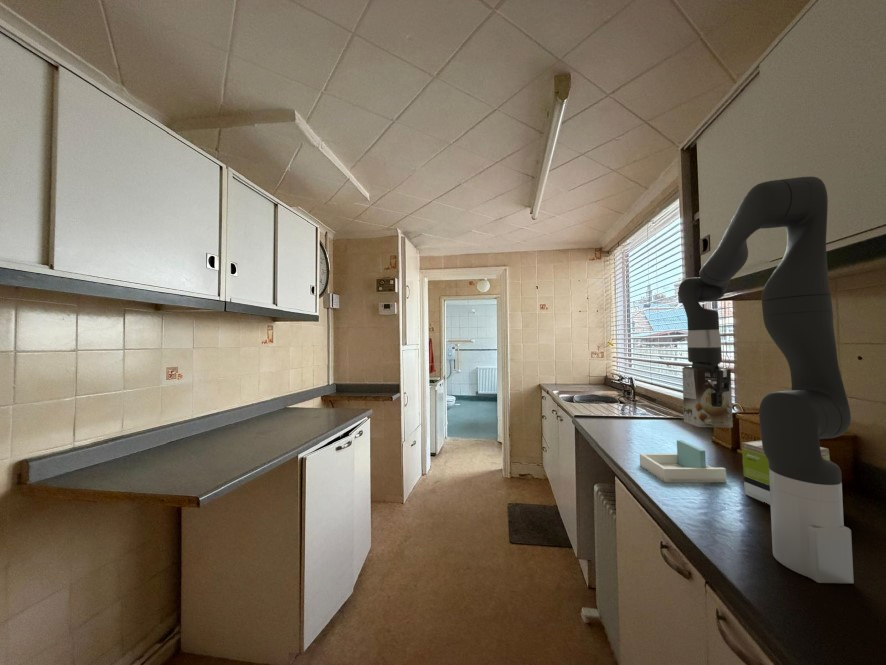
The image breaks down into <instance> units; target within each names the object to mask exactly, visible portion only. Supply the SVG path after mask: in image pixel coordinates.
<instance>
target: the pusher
mask: <svg viewBox="0 0 886 665" xmlns="http://www.w3.org/2000/svg"><path fill="white" fill-rule="evenodd" d="M676 454H677V461H678V464H680V465H682V466H684V467H686V468H706V464H707V462H706V461H707V459H706V457H707V456H706V450H704V449H702V448H700V447H697V446H696V445H693V444H691V443H689V442H686V441H684V440H682V439H677V440H676Z"/></svg>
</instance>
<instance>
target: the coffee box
mask: <svg viewBox="0 0 886 665" xmlns="http://www.w3.org/2000/svg"><path fill="white" fill-rule="evenodd" d="M681 368H682V369H681V370H682V396H683V397H682V398H683V399H682V401H683V403H682V404H683V422H684V423H687V424H690V425H691V426H695V427H698V428H733V427H734V425H733V424H734V422H733V395H732V373H731V371H732V369H729V368H721V367H719V368H720V369H721V370H729V371H730V382H729V391H728V392H723V393H722V402H723V404H722V406H721V407H714V406H712V400H711V393H712V392H711V390H710V385H709V384H708V380H710V381H716V379H717V376H716V373H714V375H713V377H711V376H710V371H709V369H702V368H684V367H681ZM714 387H715V388H716V385H714ZM722 387H724V383H722Z"/></svg>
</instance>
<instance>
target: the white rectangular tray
mask: <svg viewBox="0 0 886 665" xmlns="http://www.w3.org/2000/svg"><path fill="white" fill-rule="evenodd" d="M640 465H641V466H640ZM639 466H640V467H641V468H643V467H644V468H643V469H644V470H646V469H647V470H649V471H650V472H651V473H650V472H649V471H648V472H649V473H650V474H652V473H653V474H654V475H653V474H652V475H653V476H655V475H656V476H657V477H656V476H655V477H656V478H658V479H659V478H660V479H659V480H661V481H662V482H663V481H664V483H727V468H725V467H713V466H710V465H709V464H707V463H706V468H686V467H684V466H682V465H680V464H678V461H677V453H639ZM647 470H646V471H647Z"/></svg>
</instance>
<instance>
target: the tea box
mask: <svg viewBox="0 0 886 665" xmlns="http://www.w3.org/2000/svg"><path fill="white" fill-rule="evenodd" d="M820 450H821V456H822V457H823V459H826V460H829V461H831V458H830V450H829V448H827V447H823V446H820ZM741 454H742V467H743V482H744V483H743V485H744V486H743V487H744V493H745V495H746V496H747V497H751V498H753V499H756V500H757V501H759V502H762V503H764V502H765V503H764V504H766V503H767V505H769V506H771V502H770V477H769V462H768V459H767V457H766V455H765V453H764V451H763V447H762V439H760V440H755V441H747V442H745V441H744V442H741Z"/></svg>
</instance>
